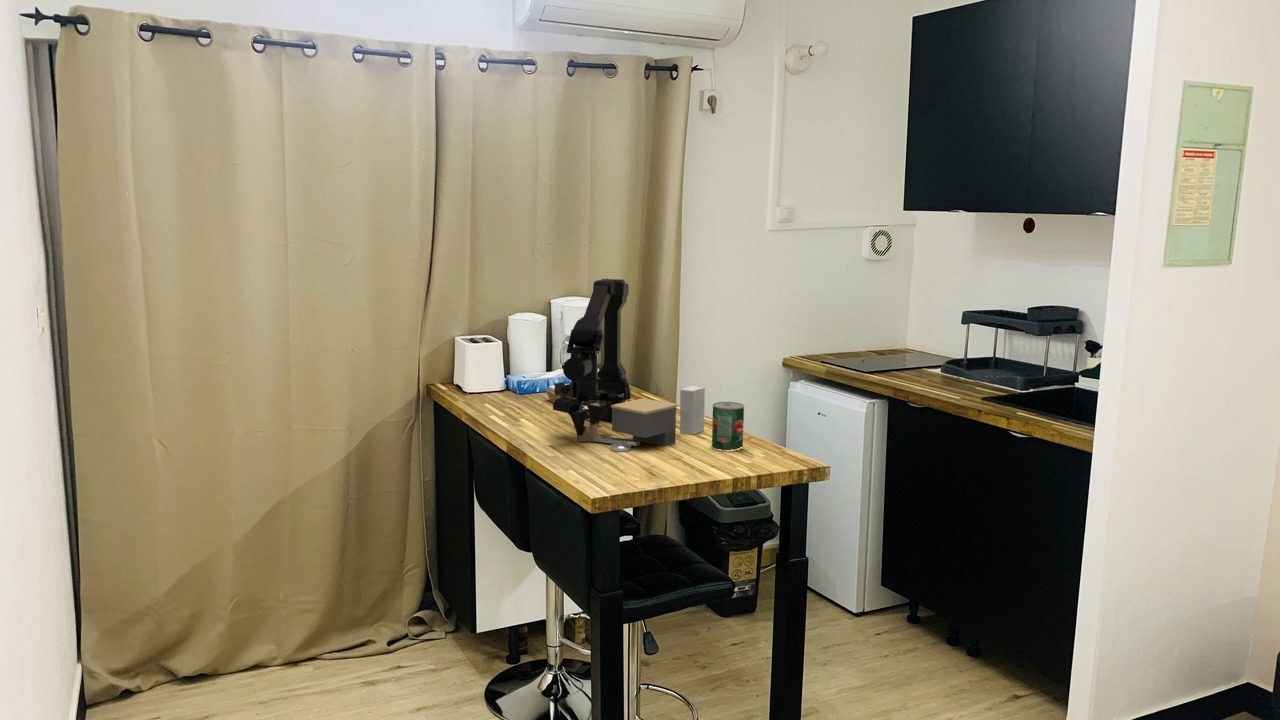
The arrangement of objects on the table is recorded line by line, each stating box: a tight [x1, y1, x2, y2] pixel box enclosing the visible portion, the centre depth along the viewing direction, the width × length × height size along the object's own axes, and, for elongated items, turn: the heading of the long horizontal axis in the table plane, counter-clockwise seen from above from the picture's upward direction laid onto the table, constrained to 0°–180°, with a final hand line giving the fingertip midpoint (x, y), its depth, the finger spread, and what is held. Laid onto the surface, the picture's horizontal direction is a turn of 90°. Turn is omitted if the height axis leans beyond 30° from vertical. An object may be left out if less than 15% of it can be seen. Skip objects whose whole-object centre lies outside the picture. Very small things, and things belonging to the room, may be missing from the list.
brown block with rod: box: [575, 421, 641, 447], centre depth 249 cm, size 4×17×4 cm, turn 61°
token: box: [610, 443, 632, 453], centre depth 244 cm, size 5×5×1 cm
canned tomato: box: [711, 401, 745, 450], centre depth 247 cm, size 8×8×11 cm
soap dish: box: [545, 383, 590, 403], centre depth 298 cm, size 12×10×5 cm
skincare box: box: [679, 385, 706, 436], centre depth 263 cm, size 6×4×12 cm
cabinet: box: [611, 398, 678, 447], centre depth 249 cm, size 12×11×10 cm
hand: (586, 433), depth 252 cm, fingers closed on brown block with rod, 4 cm apart
